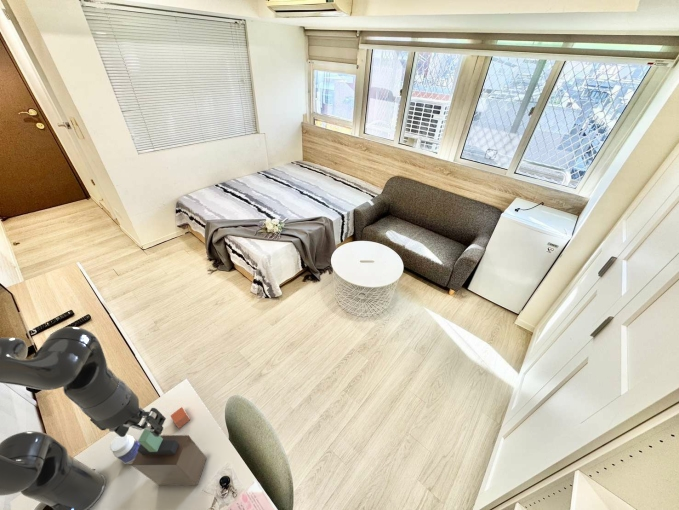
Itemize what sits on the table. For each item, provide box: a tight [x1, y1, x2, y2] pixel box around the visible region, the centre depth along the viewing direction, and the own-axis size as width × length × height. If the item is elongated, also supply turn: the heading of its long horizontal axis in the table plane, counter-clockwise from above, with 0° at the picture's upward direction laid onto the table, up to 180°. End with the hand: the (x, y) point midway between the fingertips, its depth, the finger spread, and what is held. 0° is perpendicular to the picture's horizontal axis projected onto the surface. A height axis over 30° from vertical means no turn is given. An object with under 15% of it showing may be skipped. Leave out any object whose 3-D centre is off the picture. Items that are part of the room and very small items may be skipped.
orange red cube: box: [170, 406, 191, 429], centre depth 95 cm, size 4×4×4 cm
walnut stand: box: [131, 434, 208, 486], centre depth 79 cm, size 12×7×18 cm, turn 90°
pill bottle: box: [109, 433, 140, 465], centre depth 85 cm, size 6×6×10 cm
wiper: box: [137, 429, 179, 455], centre depth 71 cm, size 9×3×10 cm, turn 90°
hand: (142, 432), depth 67 cm, fingers open, 8 cm apart
